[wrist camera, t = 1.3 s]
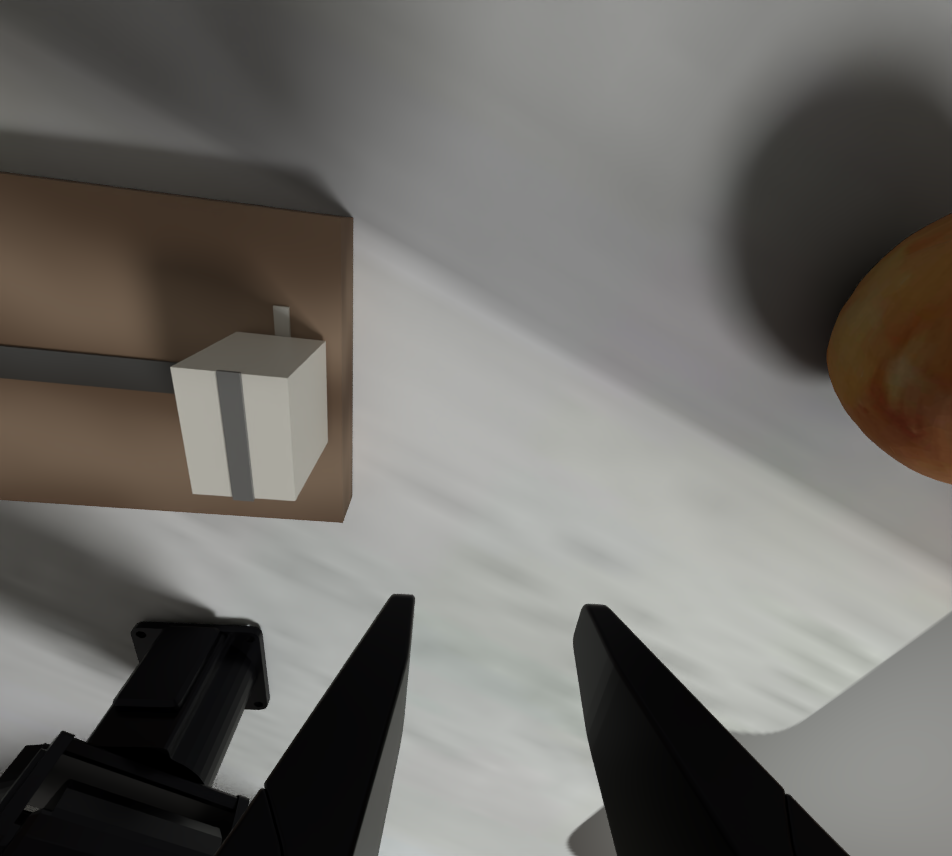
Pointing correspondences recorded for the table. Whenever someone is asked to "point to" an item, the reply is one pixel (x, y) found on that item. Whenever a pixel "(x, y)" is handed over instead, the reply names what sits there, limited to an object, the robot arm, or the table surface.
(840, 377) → the onion
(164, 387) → the board
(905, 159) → the table surface
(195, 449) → the fader tab
